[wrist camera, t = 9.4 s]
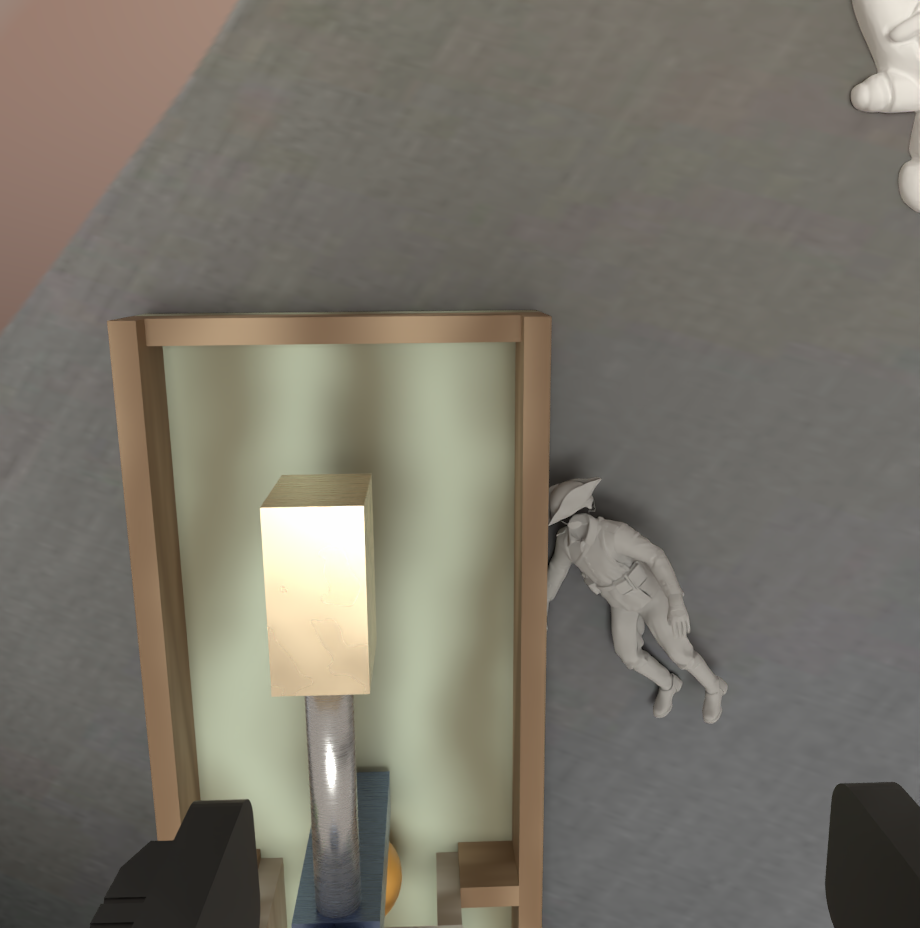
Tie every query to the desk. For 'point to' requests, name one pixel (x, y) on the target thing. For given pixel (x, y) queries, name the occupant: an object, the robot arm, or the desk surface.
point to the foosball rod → (329, 684)
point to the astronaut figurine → (893, 74)
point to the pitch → (396, 581)
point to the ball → (393, 879)
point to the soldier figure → (629, 592)
